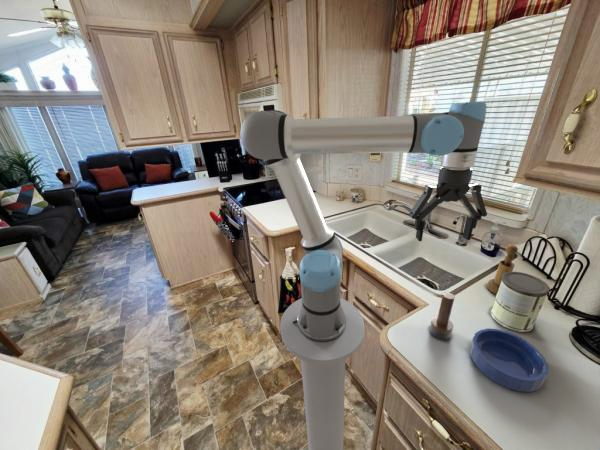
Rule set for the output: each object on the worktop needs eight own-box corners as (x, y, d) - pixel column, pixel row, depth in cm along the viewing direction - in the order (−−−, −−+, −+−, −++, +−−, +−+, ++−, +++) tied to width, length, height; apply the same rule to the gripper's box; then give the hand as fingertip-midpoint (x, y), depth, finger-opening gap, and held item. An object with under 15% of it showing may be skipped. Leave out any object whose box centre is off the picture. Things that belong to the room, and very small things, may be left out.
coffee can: (489, 302, 83) (501, 267, 77) (530, 314, 77) (546, 277, 72) (490, 323, 75) (503, 286, 69) (535, 337, 70) (554, 298, 64)
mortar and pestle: (513, 291, 87) (530, 247, 80) (504, 298, 84) (520, 253, 77) (492, 281, 92) (506, 239, 85) (483, 288, 90) (496, 244, 82)
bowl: (487, 390, 58) (492, 377, 56) (459, 338, 71) (462, 327, 69) (558, 396, 56) (566, 383, 54) (516, 341, 69) (521, 330, 67)
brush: (433, 340, 71) (441, 302, 65) (426, 324, 76) (434, 288, 70) (454, 341, 70) (464, 303, 65) (446, 325, 75) (455, 289, 70)
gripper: (412, 172, 63) (403, 245, 71) (517, 167, 61) (494, 243, 69) (403, 166, 69) (395, 234, 78) (497, 162, 67) (478, 231, 76)
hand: (442, 238), depth 74 cm, fingers open, 13 cm apart
